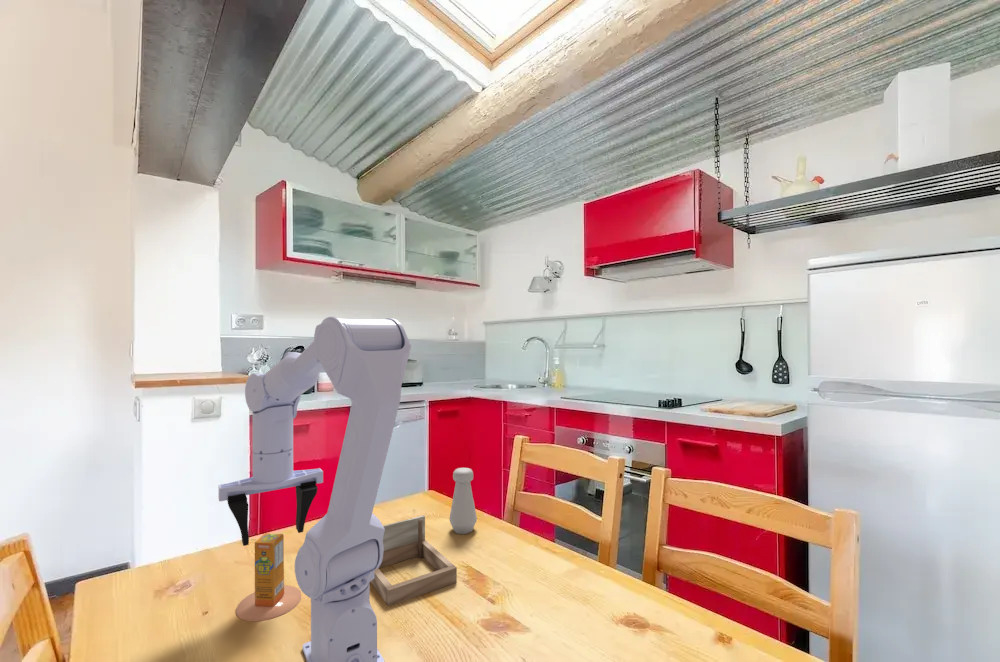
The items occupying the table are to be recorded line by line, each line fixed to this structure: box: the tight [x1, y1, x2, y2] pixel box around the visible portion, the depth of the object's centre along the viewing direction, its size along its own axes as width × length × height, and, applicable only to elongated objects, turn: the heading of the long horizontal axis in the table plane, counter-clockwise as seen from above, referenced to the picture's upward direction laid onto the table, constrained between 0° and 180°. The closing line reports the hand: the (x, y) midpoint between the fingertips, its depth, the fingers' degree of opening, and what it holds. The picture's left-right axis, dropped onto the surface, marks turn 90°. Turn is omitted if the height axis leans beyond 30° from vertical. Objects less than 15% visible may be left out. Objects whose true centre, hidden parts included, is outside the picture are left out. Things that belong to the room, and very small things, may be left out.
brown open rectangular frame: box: [370, 515, 458, 607], centre depth 79 cm, size 13×12×7 cm
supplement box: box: [254, 532, 285, 606], centre depth 71 cm, size 3×3×10 cm
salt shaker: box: [449, 467, 478, 535], centre depth 97 cm, size 6×6×13 cm
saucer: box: [235, 584, 302, 622], centre depth 70 cm, size 9×9×1 cm
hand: (273, 536), depth 71 cm, fingers open, 7 cm apart
